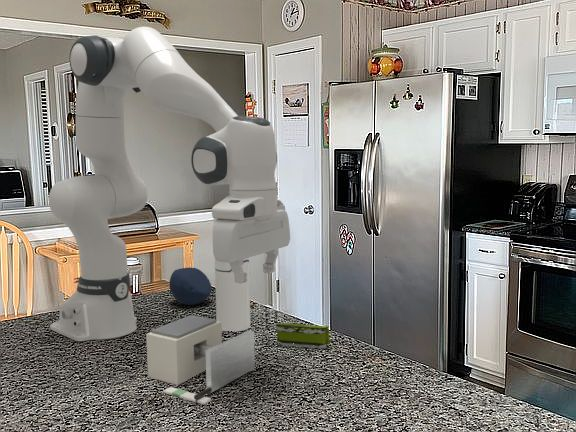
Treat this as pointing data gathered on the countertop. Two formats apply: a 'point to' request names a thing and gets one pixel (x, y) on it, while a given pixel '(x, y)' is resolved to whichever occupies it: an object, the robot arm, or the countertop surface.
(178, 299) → the decorative stone
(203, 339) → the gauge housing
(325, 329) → the toy tank
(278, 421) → the countertop surface
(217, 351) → the plate
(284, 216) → the robot arm
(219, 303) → the container
